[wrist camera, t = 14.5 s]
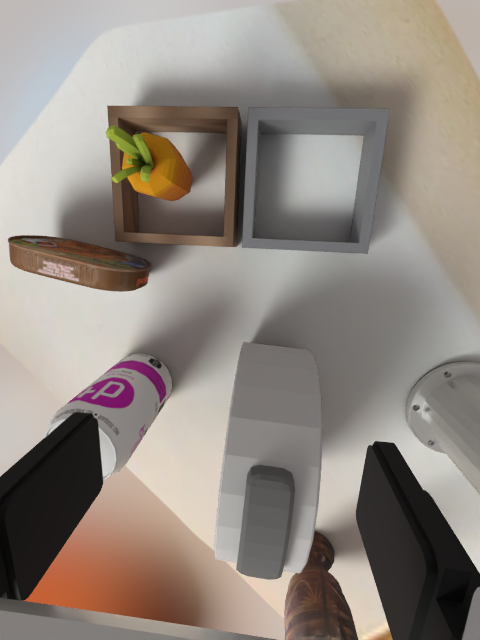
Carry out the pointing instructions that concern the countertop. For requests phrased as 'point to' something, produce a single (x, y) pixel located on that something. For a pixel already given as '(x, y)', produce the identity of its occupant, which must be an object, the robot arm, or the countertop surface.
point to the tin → (78, 263)
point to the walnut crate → (175, 122)
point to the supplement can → (122, 406)
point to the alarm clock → (271, 462)
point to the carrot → (151, 165)
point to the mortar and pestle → (317, 600)
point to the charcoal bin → (320, 123)
